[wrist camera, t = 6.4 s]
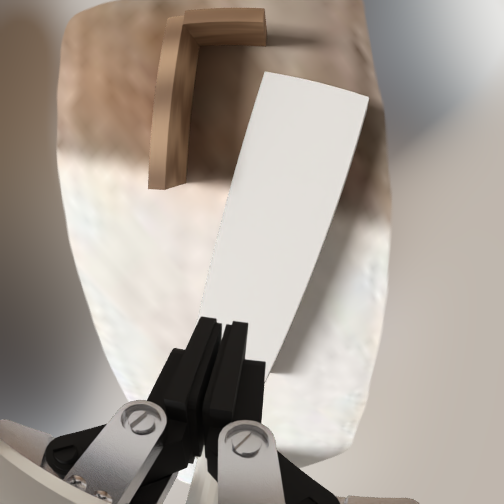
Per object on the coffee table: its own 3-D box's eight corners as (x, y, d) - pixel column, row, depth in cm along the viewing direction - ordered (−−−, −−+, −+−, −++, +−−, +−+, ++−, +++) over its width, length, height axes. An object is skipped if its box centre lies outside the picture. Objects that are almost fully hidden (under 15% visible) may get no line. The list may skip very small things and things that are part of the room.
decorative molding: (206, 341, 39) (270, 371, 36) (188, 358, 34) (259, 393, 32) (278, 86, 27) (367, 110, 25) (264, 71, 23) (369, 97, 21)
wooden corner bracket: (252, 188, 28) (246, 195, 23) (171, 182, 29) (148, 189, 23) (266, 34, 23) (264, 8, 17) (187, 34, 23) (168, 12, 18)
